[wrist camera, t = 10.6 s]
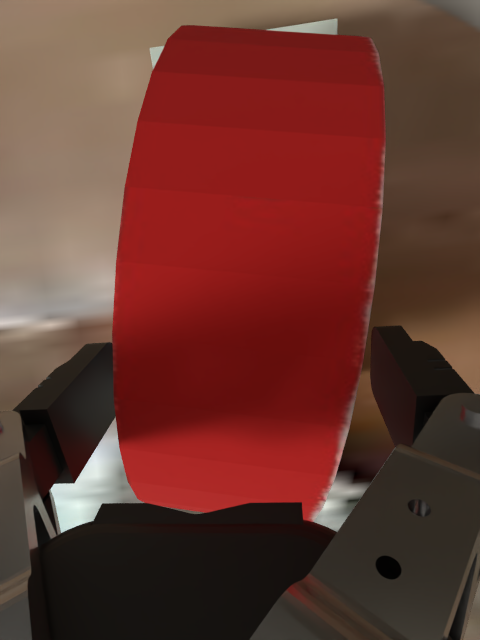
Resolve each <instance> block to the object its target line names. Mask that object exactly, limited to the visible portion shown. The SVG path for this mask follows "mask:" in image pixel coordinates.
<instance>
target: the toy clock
mask: <svg viewBox="0 0 480 640" xmlns="http://www.w3.org/2000/svg"><path fill="white" fill-rule="evenodd" d="M385 145H386V130H385V97H384V82H383V76H382V70H381V63H380V57H379V52H378V50H377V48H376V46H375V44H374V42H373V40H372V38H369V37H363V36H348V35H333V34H317V33H302V32H287V31H272V30H256V29H241V28H226V27H210V26H195V25H186V26H181V27H180V28H179V29H178V30H177V31H176V32H175V33H173V34H172V35H171V36H170V37H169V38H168V40H167V42H166V44H165V46H164V48H163V50H162V52H161V54H160V56H159V59H158V61H157V63H156V65H155V67H154V69H153V71H152V74H151V78H150V81H149V84H148V88H147V91H146V95H145V98H144V101H143V105H142V108H141V111H140V115H139V118H138V122H137V127H136V132H135V137H134V143H133V148H132V153H131V158H130V163H129V168H128V173H127V178H126V184H125V190H124V199H123V207H122V216H121V225H120V234H119V242H118V251H117V260H116V276H115V294H114V313H113V331H112V340H113V391H114V406H115V414H116V422H117V431H118V439H119V448H120V452H121V456H122V460H123V464H124V468H125V472H126V476H127V480H128V483H129V484H130V486H131V488H132V490H133V491H134V493H135V495H136V497H137V498H138V499H139V500H141V501H143V502H145V503H150V504H154V505H158V506H164V507H171V508H178V509H185V510H192V511H199V512H206V513H207V512H212V511H216V510H220V509H225V508H229V507H233V506H238V505H242V504H246V503H268V502H302V511H303V520H307V521H311V522H313V521H314V520H315V518H316V517H317V516H318V514H319V513H320V511H321V510H322V508H323V506H324V504H325V501H326V499H327V496H328V494H329V491H330V489H331V486H332V484H333V481H334V479H335V476H336V473H337V469H338V466H339V462H340V459H341V455H342V452H343V448H344V445H345V441H346V438H347V434H348V431H349V427H350V422H351V417H352V413H353V408H354V403H355V398H356V394H357V389H358V384H359V379H360V375H361V370H362V365H363V360H364V353H365V347H366V340H367V333H368V327H369V320H370V314H371V307H372V301H373V294H374V288H375V279H376V269H377V259H378V249H379V240H380V230H381V220H382V210H383V190H384V168H385Z"/></svg>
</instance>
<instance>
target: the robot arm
mask: <svg viewBox="0 0 480 640" xmlns="http://www.w3.org/2000/svg"><path fill="white" fill-rule="evenodd" d="M370 378H371V387H372V391H373V395H374V397H375V400H376V402H377V404H378V407H379V409H380V412H381V414H382V416H383V419H384V421H385V424H386V426H387V428H388V431H389V433H390V435H391V438H392V440H393V443H394V445H395V447H396V448H395V449H394V450H393V452H392V453H391V455H390V456H389V458H388V459H387V461H386V462H385V464H384V465H383V466H382V468H381V469H380V471H379V472H378V474H377V475H376V477H375V478H374V480H373V481H372V482H371V484H370V485H369V487H368V488H367V490H366V491H365V493H364V494H363V496H362V497H361V498H360V500H359V501H358V503H357V504H356V506H355V507H354V509H353V510H352V512H351V513H350V515H349V516H348V517H347V519H346V520H345V522H344V523H343V525H342V526H341V528H340V529H339V531H338V532H336V531H334V530H332V529H330V528H328V527H325V526H323V525H320V524H317V523H314V522H311V521H307V520H303V511H302V502H268V503H246V504H242V505H238V506H233V507H229V508H225V509H220V510H216V511H212V512H207V513H203V514H190V513H186V512H182V511H178V510H174V509H170V508H166V507H162V506H158V505H154V504H150V503H112V504H102V505H101V507H100V509H99V511H98V513H97V515H96V517H95V519H94V521H92V522H88V523H85V524H82V525H79V526H76V527H74V528H72V529H69V530H67V531H65V532H63V533H61V531H60V526H59V521H58V517H57V512H56V507H55V502H54V498H53V495H52V493H51V490H50V489H51V487H52V486H53V484H59V483H75V481H76V480H77V478H78V476H79V475H80V473H81V471H82V470H83V468H84V467H85V465H86V463H87V462H88V460H89V459H90V457H91V455H92V454H93V452H94V450H95V449H96V447H97V446H98V444H99V442H100V441H101V439H102V437H103V436H104V434H105V433H106V431H107V429H108V428H109V426H110V424H111V423H112V421H113V420H114V418H115V416H116V414H115V406H114V391H113V344H112V343H110V342H108V343H92V344H86V345H85V346H84V347H83V348H82V349H81V350H80V351H79V352H78V353H77V354H76V355H74V356H73V357H72V358H71V359H70V360H69V361H68V362H66V363H64V364H63V365H61V366H59V367H58V368H56V369H55V370H54V371H53V372H52V373H51V374H50V375H49V376H48V377H47V379H46V380H44V381H43V382H42V383H41V384H39V385H38V388H35V389H34V390H33V391H32V392H31V393H30V394H29V395H28V396H27V397H26V398H25V399H24V400H23V401H22V402H21V403H20V404H19V405H18V406H17V407H16V408H15V409H13V410H12V411H0V640H463V639H464V635H465V632H466V628H467V624H468V620H469V616H470V612H471V609H472V605H473V601H474V598H475V594H476V591H477V588H478V584H479V581H480V395H479V394H475V393H474V392H473V391H472V390H471V389H470V388H469V386H468V385H467V384H466V383H465V382H464V381H463V379H462V378H461V377H460V376H459V375H458V374H457V372H456V371H455V370H454V369H452V366H451V365H450V364H449V363H448V362H447V361H445V358H444V357H443V356H442V355H441V354H440V352H439V351H438V350H437V349H436V348H434V347H432V346H430V345H429V344H427V343H425V342H423V341H412V339H411V338H410V337H409V335H408V334H407V333H406V331H405V330H404V329H403V327H402V326H400V325H399V326H383V327H374V328H373V330H372V339H371V370H370Z"/></svg>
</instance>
